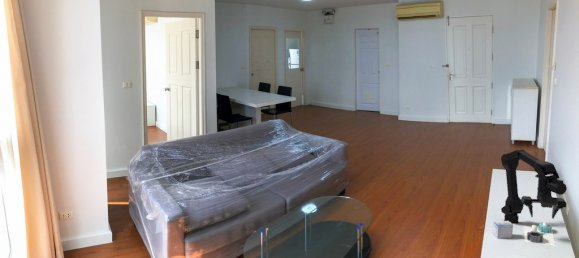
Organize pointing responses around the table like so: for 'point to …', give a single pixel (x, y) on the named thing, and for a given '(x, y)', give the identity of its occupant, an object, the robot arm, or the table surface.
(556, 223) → the table surface
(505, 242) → the table surface
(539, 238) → the gear
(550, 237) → the gear board
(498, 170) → the table surface
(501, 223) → the medicine box
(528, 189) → the table surface
